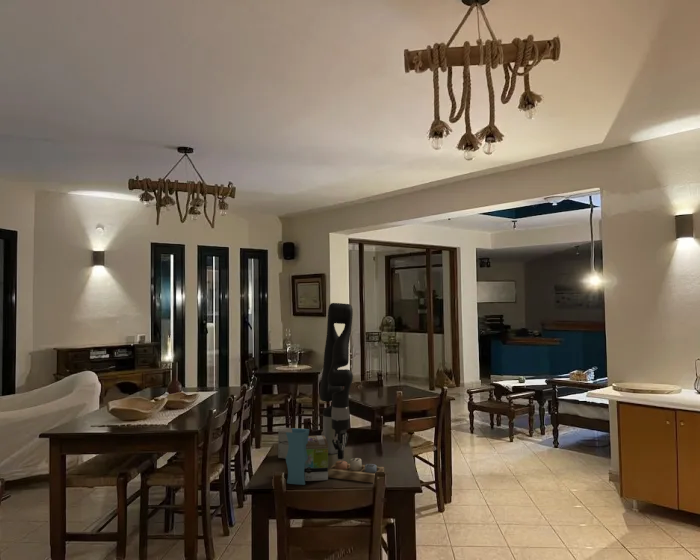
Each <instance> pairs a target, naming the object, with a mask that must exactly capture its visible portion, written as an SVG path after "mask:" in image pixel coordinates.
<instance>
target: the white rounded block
mask: <svg viewBox="0 0 700 560" xmlns="http://www.w3.org/2000/svg"><path fill="white" fill-rule="evenodd" d="M349 463H350V470H351V471H361V470H362V465H363V464H362V459H361V458H360V457H354V458H351V459H349Z"/></svg>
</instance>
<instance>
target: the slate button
mask: <svg viewBox="0 0 700 560" xmlns="http://www.w3.org/2000/svg"><path fill="white" fill-rule="evenodd" d="M364 465H365V472H367V473H376V472H377V465H376V464H374V463H366V464H364Z"/></svg>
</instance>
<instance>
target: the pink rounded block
mask: <svg viewBox="0 0 700 560" xmlns="http://www.w3.org/2000/svg"><path fill="white" fill-rule="evenodd" d="M347 463H348V462H347V461H346V460H337V461H335V464H336V469H340V470H345V469H347Z"/></svg>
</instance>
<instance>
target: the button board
mask: <svg viewBox="0 0 700 560" xmlns="http://www.w3.org/2000/svg"><path fill="white" fill-rule="evenodd" d="M365 465H366V464H362V470H361V471H351V470H350V462H349V463H348V462H347V469H345V470H340V469H336V463H333V465H331V466H330V467H328V478H331V479H332V478H333V479H341V480H349V481H356V482H366V483H373V484H375V483H374V478H375V473H367V472H365ZM376 466H377V465H376ZM377 472H384V473H385V467H384V466H377Z"/></svg>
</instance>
